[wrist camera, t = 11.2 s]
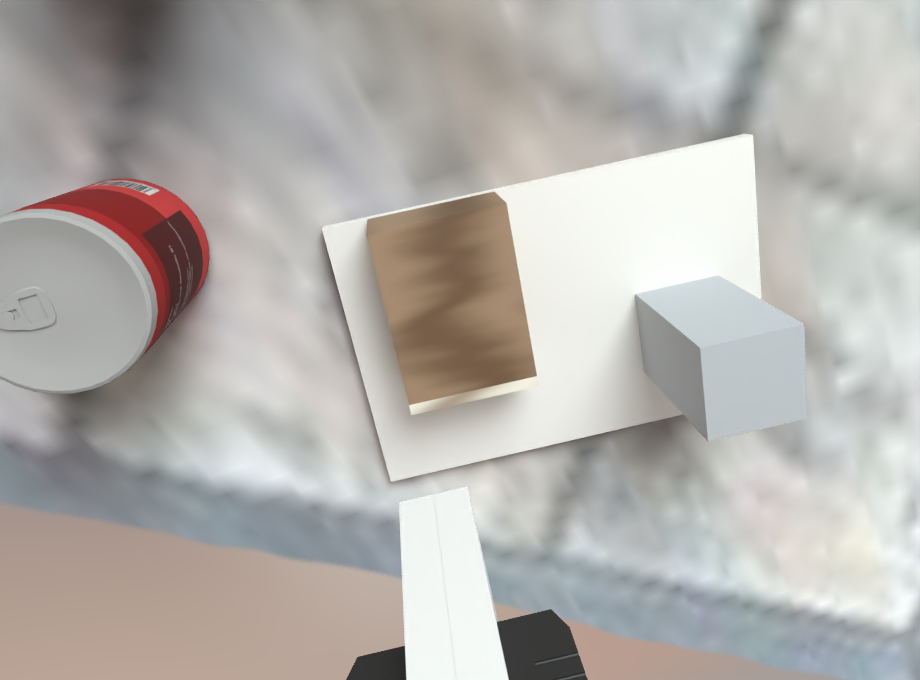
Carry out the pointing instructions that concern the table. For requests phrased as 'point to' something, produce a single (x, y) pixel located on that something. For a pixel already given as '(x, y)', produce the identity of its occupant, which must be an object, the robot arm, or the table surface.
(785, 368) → the grey block
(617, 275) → the board
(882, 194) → the table surface
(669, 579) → the table surface
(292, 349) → the table surface
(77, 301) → the canned food
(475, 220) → the walnut block
